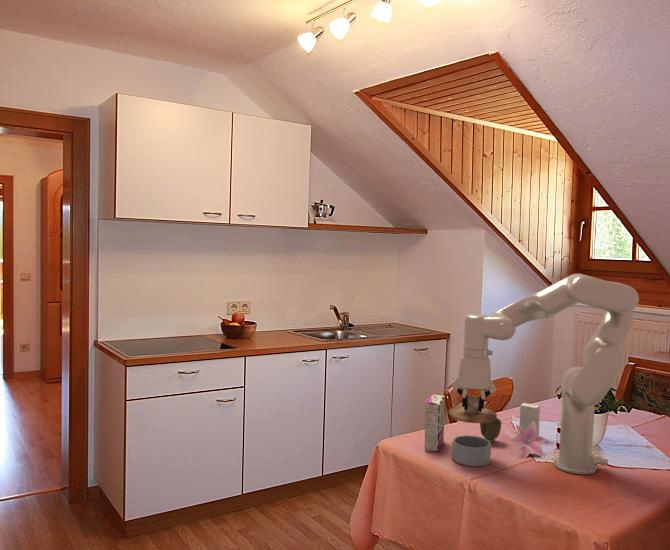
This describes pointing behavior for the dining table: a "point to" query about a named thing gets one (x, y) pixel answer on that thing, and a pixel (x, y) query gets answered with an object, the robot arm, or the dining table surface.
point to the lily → (529, 440)
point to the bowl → (471, 450)
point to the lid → (472, 412)
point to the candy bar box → (434, 422)
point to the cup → (491, 430)
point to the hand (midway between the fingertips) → (472, 409)
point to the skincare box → (529, 415)
